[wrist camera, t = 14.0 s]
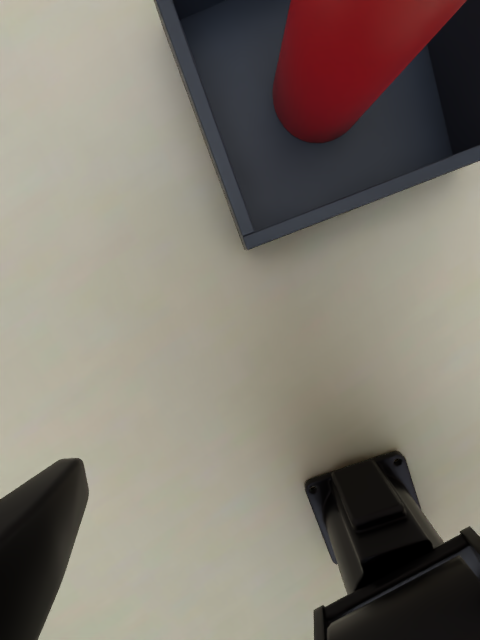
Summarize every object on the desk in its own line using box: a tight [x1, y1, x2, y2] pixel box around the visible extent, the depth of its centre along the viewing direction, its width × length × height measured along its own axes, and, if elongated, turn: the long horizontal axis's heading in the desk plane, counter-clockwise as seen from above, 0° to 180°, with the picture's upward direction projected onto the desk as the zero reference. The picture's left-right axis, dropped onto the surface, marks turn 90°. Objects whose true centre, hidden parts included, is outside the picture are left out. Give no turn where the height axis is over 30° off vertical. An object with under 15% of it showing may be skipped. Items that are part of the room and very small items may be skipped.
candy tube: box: [273, 0, 467, 143], centre depth 11 cm, size 5×5×12 cm
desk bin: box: [154, 0, 480, 250], centre depth 15 cm, size 12×12×5 cm
